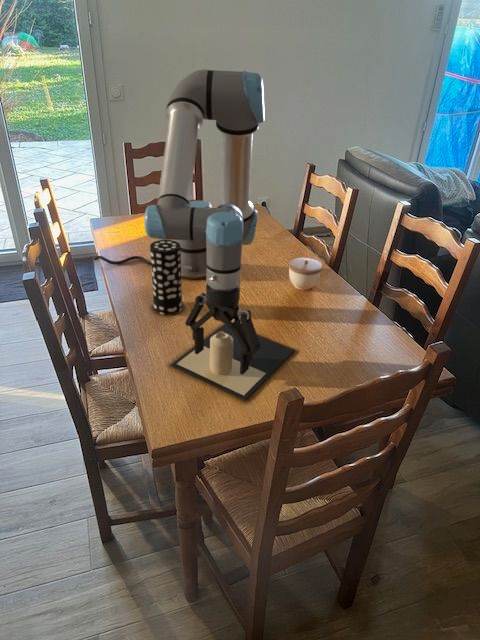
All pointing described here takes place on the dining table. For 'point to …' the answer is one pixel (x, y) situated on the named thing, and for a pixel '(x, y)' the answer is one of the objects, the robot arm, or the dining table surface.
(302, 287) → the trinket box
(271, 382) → the dining table surface
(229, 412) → the dining table surface
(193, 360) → the table mat
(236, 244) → the robot arm
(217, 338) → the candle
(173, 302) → the spotted tube
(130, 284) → the dining table surface
